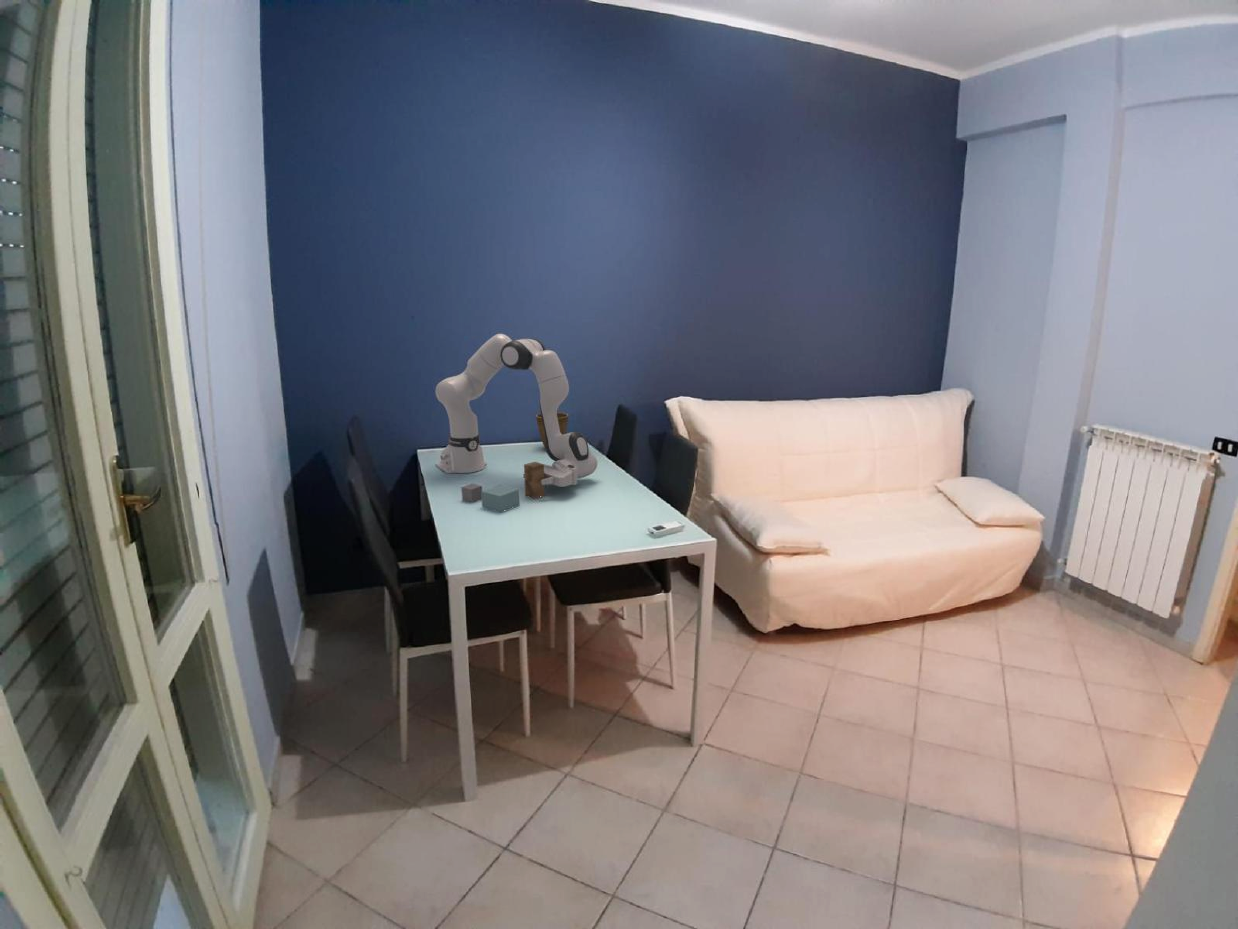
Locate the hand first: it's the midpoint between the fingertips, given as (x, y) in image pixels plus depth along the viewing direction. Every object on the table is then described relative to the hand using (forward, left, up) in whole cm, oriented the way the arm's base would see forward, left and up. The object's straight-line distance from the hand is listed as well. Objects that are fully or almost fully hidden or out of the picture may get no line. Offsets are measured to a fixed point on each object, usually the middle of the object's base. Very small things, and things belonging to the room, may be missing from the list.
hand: (532, 479), depth 220 cm
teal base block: (0, -14, -7) cm, 16 cm away
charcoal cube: (-13, -17, -7) cm, 22 cm away
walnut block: (0, +1, -7) cm, 7 cm away
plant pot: (-48, +50, -7) cm, 69 cm away
